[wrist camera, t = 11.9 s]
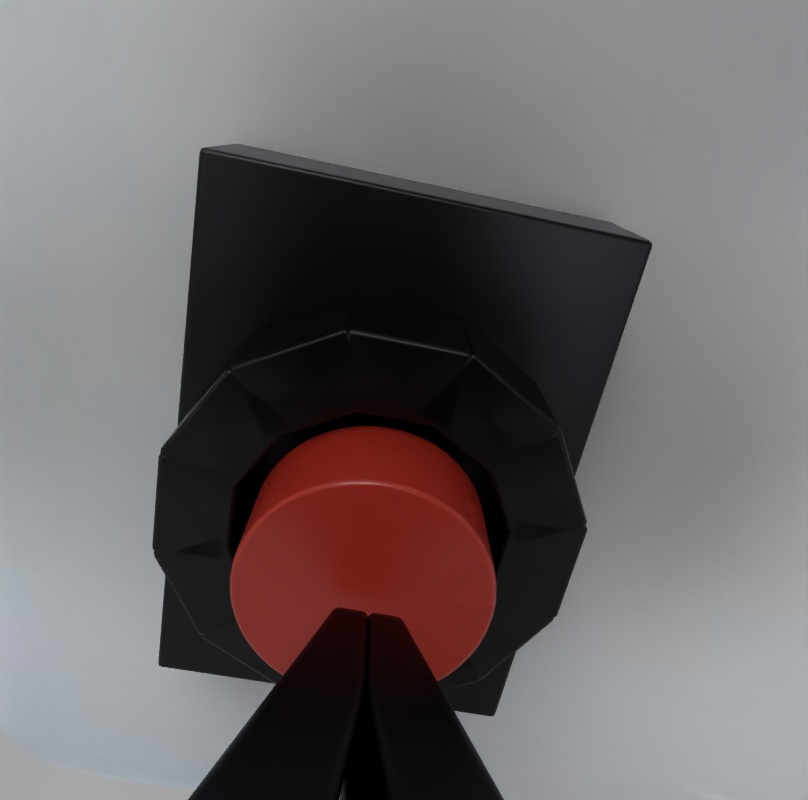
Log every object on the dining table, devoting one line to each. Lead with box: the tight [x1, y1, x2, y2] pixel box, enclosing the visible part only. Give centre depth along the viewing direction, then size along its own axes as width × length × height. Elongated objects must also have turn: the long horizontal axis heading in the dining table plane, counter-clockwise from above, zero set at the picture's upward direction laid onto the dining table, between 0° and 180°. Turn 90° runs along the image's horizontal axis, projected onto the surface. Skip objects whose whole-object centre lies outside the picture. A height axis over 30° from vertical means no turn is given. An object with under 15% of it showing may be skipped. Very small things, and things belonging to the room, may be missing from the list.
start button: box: [230, 426, 497, 682], centre depth 10 cm, size 4×4×2 cm
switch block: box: [153, 144, 652, 716], centre depth 12 cm, size 10×7×4 cm
